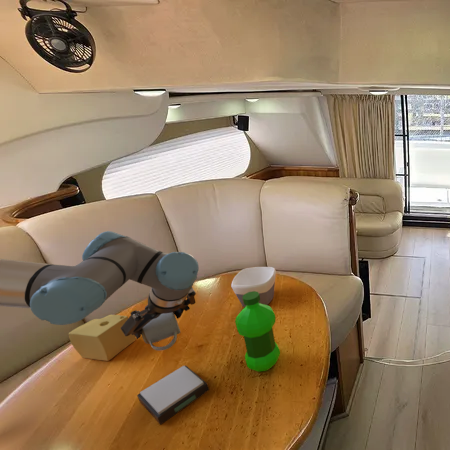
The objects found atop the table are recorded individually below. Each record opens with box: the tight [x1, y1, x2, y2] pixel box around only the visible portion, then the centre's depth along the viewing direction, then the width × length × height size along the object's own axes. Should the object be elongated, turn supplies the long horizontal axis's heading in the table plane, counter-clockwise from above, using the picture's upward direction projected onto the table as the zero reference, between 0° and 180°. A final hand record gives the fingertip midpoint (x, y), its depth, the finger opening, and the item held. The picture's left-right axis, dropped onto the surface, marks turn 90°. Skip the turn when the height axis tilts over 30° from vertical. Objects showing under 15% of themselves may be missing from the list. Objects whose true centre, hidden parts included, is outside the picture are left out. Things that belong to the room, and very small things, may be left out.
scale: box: [136, 365, 210, 426], centre depth 84 cm, size 12×12×3 cm
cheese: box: [68, 314, 137, 362], centre depth 99 cm, size 10×11×10 cm
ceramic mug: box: [141, 312, 181, 352], centre depth 87 cm, size 11×8×8 cm
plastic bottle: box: [234, 291, 281, 373], centre depth 91 cm, size 10×10×25 cm
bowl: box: [230, 266, 277, 308], centre depth 125 cm, size 15×15×11 cm
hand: (157, 323), depth 89 cm, fingers closed on ceramic mug, 9 cm apart
